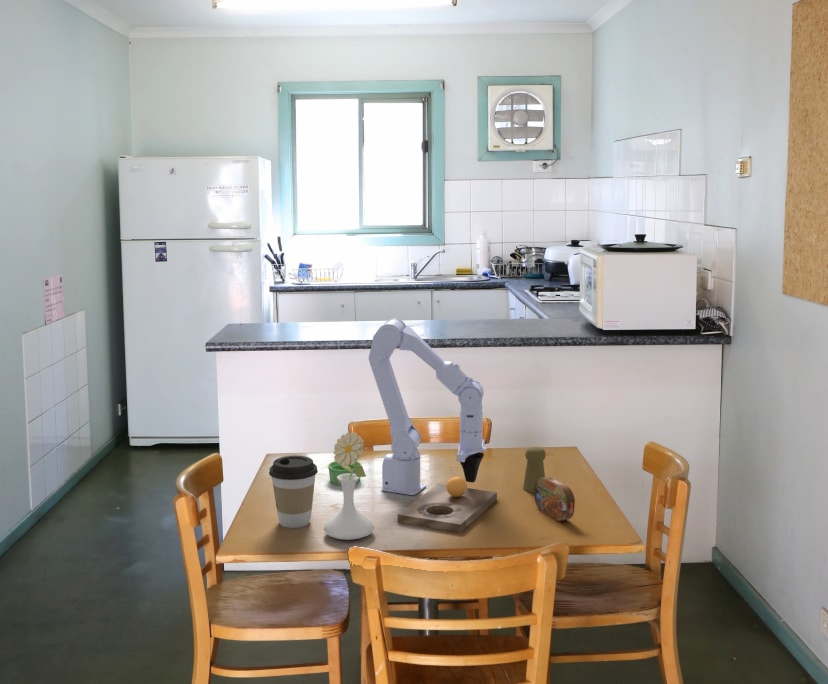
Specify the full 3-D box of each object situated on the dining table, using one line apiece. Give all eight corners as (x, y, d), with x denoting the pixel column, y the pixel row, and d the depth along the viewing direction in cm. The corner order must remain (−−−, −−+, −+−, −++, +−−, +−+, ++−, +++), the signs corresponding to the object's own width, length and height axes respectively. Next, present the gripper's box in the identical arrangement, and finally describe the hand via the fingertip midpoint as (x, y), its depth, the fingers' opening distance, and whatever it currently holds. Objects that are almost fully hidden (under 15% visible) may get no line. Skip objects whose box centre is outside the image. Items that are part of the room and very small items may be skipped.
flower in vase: (316, 531, 228) (313, 426, 224) (360, 522, 234) (359, 419, 229) (340, 550, 217) (338, 440, 213) (386, 540, 223) (385, 433, 218)
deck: (397, 522, 234) (397, 514, 234) (438, 491, 255) (438, 483, 255) (460, 532, 227) (460, 524, 227) (496, 499, 249) (496, 492, 248)
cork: (545, 493, 253) (546, 451, 251) (521, 491, 255) (522, 450, 253) (547, 485, 259) (548, 445, 257) (524, 484, 260) (524, 443, 258)
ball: (443, 498, 244) (443, 478, 243) (451, 492, 249) (451, 472, 248) (462, 501, 242) (462, 481, 241) (469, 494, 247) (469, 475, 246)
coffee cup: (274, 513, 240) (272, 453, 237) (321, 514, 239) (320, 454, 237) (266, 531, 229) (264, 468, 226) (315, 531, 228) (314, 469, 225)
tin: (532, 505, 245) (533, 473, 243) (543, 504, 246) (544, 471, 244) (565, 526, 231) (566, 491, 230) (576, 524, 232) (577, 490, 231)
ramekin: (365, 476, 268) (365, 460, 267) (357, 487, 259) (357, 470, 258) (333, 474, 269) (332, 458, 269) (324, 485, 261) (324, 469, 260)
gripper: (475, 439, 243) (475, 492, 245) (495, 424, 256) (495, 475, 258) (448, 435, 246) (448, 488, 248) (470, 421, 259) (470, 471, 261)
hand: (470, 481), depth 254 cm, fingers closed
